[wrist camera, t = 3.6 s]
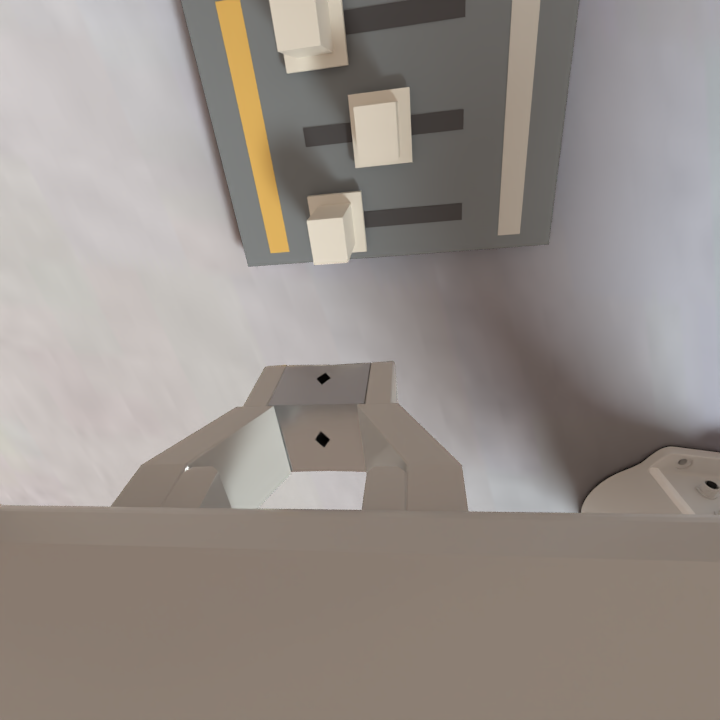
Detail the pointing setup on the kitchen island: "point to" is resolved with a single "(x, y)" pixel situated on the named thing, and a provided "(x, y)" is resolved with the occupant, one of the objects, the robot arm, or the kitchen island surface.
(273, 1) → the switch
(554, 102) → the switch board
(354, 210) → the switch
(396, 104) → the switch mid
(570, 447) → the kitchen island surface
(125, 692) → the robot arm
